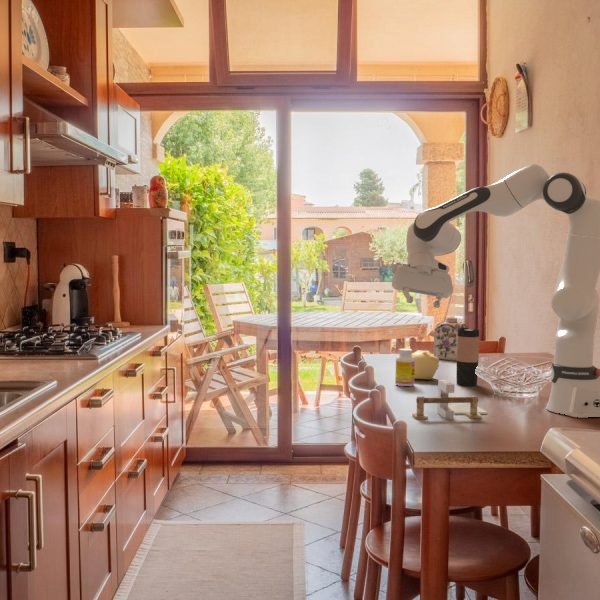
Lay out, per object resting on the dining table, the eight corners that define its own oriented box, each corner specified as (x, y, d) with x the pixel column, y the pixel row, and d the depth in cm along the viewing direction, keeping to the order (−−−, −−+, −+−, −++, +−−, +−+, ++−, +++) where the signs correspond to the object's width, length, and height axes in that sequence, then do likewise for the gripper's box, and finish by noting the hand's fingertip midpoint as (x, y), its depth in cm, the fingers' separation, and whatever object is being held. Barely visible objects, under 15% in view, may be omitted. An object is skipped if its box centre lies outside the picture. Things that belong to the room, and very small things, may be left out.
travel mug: (462, 387, 256) (464, 330, 255) (452, 383, 264) (453, 328, 262) (481, 386, 258) (483, 330, 257) (471, 382, 266) (472, 327, 264)
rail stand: (477, 415, 214) (477, 395, 214) (481, 418, 211) (482, 397, 210) (412, 416, 212) (412, 395, 211) (415, 419, 208) (416, 398, 208)
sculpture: (443, 380, 268) (444, 351, 267) (414, 382, 264) (415, 353, 263) (426, 375, 279) (427, 347, 278) (399, 377, 274) (399, 348, 273)
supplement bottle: (413, 387, 254) (414, 351, 253) (394, 386, 256) (395, 350, 255) (414, 384, 261) (415, 348, 260) (395, 383, 262) (396, 347, 261)
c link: (445, 412, 216) (446, 379, 216) (453, 418, 209) (454, 384, 208) (437, 413, 216) (438, 379, 215) (445, 419, 209) (446, 384, 208)
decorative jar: (467, 357, 323) (469, 317, 322) (458, 361, 313) (459, 319, 312) (442, 355, 330) (443, 315, 328) (432, 358, 320) (433, 317, 318)
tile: (475, 406, 226) (475, 404, 226) (487, 414, 216) (487, 412, 216) (443, 406, 224) (443, 405, 224) (454, 414, 215) (454, 412, 215)
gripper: (395, 256, 232) (397, 295, 226) (453, 267, 238) (456, 305, 231) (387, 266, 238) (389, 303, 231) (444, 276, 243) (447, 313, 237)
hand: (423, 304), depth 231 cm, fingers open, 8 cm apart
